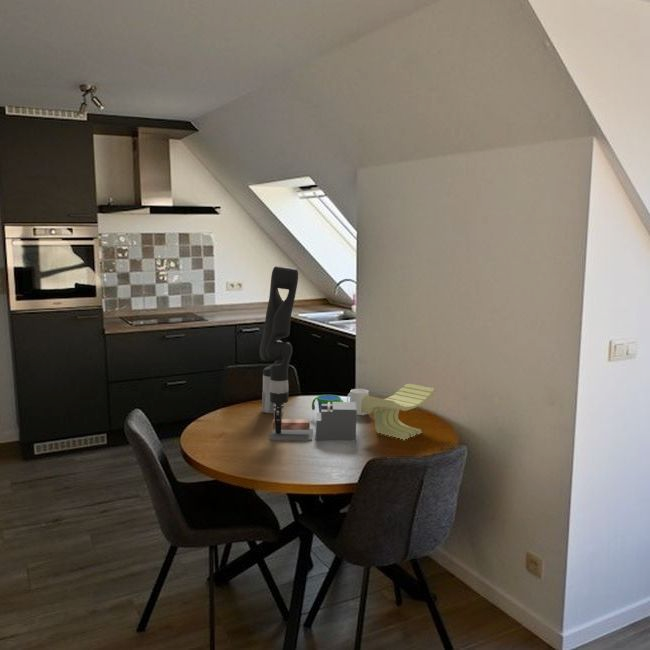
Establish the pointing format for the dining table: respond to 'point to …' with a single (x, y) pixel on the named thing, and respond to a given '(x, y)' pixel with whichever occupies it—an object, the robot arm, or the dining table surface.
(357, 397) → the mug
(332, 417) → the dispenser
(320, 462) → the dining table surface
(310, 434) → the mat
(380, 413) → the slatted curved stool
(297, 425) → the copper bar
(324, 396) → the snack cup
